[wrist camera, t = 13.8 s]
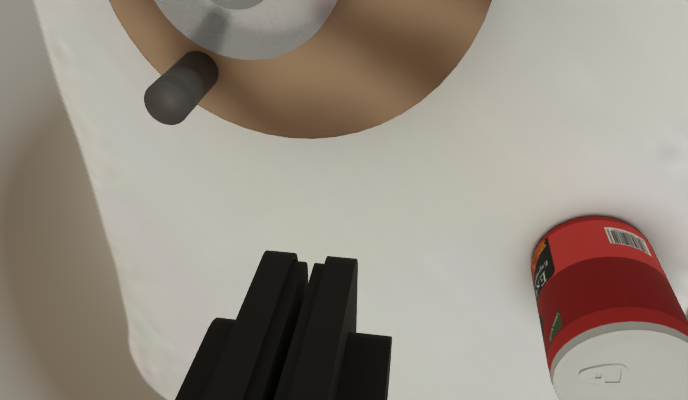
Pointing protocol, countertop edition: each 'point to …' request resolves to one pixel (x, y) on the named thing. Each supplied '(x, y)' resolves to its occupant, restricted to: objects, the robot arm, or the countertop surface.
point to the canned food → (608, 314)
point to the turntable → (310, 67)
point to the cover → (247, 24)
